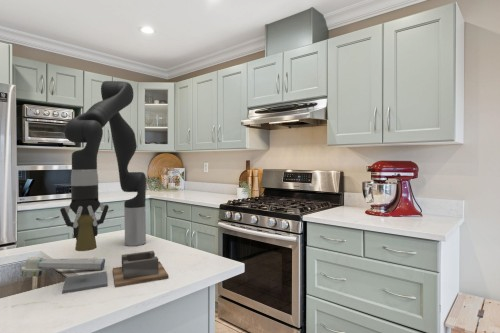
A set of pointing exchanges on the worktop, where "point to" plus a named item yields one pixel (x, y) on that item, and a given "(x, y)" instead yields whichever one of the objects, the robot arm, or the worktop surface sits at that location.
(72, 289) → the mat
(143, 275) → the collar block
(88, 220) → the olive pawn
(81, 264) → the toothbrush head
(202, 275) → the worktop surface
